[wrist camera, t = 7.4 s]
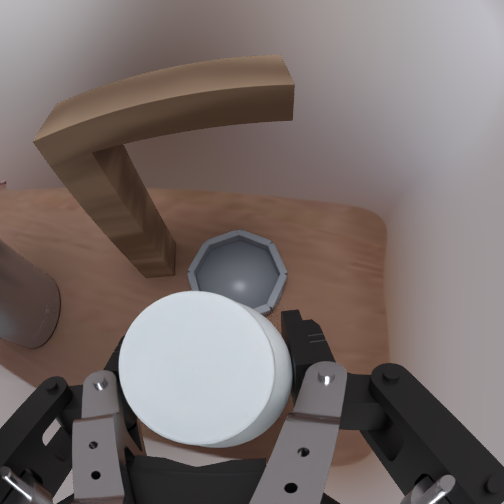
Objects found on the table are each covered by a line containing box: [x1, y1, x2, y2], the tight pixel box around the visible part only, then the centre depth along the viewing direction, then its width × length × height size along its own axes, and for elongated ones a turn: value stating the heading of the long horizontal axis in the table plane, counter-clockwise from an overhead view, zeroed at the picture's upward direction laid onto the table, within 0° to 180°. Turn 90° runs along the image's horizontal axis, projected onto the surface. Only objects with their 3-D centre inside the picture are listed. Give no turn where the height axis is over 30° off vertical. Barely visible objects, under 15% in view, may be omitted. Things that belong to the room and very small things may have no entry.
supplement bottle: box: [119, 291, 293, 448], centre depth 10 cm, size 5×5×10 cm
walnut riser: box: [33, 55, 295, 278], centre depth 19 cm, size 4×13×18 cm, turn 95°
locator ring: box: [187, 229, 287, 316], centre depth 25 cm, size 8×8×2 cm
